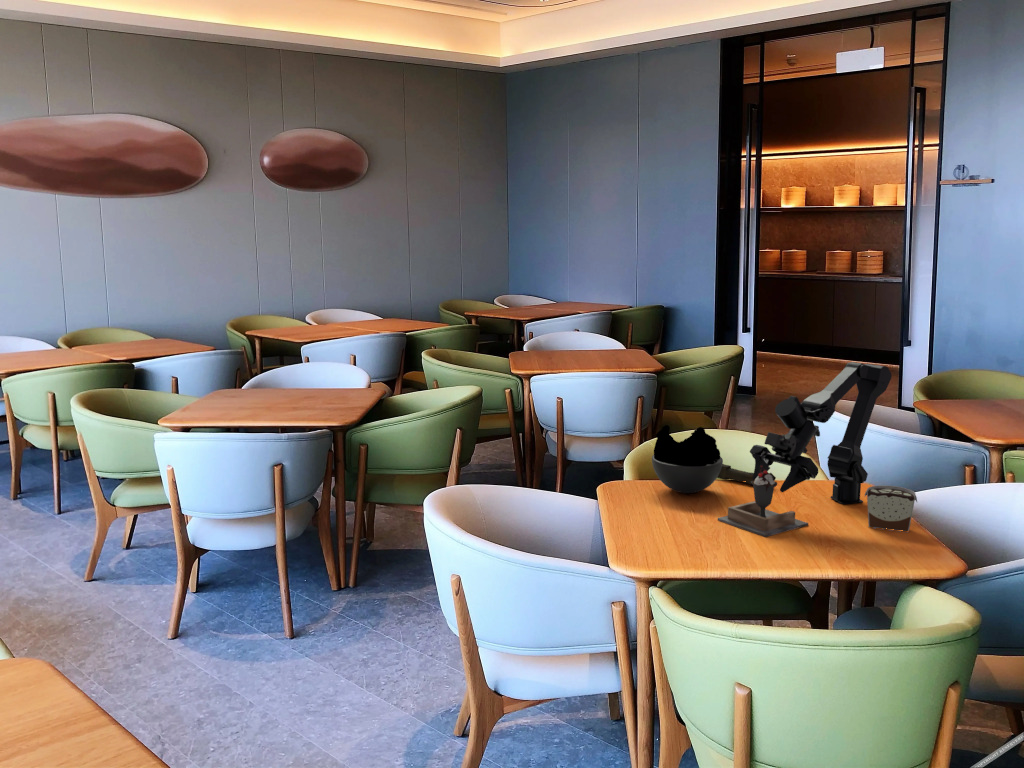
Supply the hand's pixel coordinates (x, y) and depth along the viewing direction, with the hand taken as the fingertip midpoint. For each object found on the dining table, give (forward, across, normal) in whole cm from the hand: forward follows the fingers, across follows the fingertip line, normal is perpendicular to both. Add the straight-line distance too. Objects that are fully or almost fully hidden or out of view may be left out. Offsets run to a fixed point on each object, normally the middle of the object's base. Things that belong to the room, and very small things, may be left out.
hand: (766, 487), depth 240 cm
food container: (-10, +20, +23) cm, 32 cm away
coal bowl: (+5, -32, +8) cm, 33 cm away
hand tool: (-9, -30, +23) cm, 39 cm away
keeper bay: (+7, 0, +6) cm, 9 cm away
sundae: (+7, 0, +5) cm, 9 cm away
